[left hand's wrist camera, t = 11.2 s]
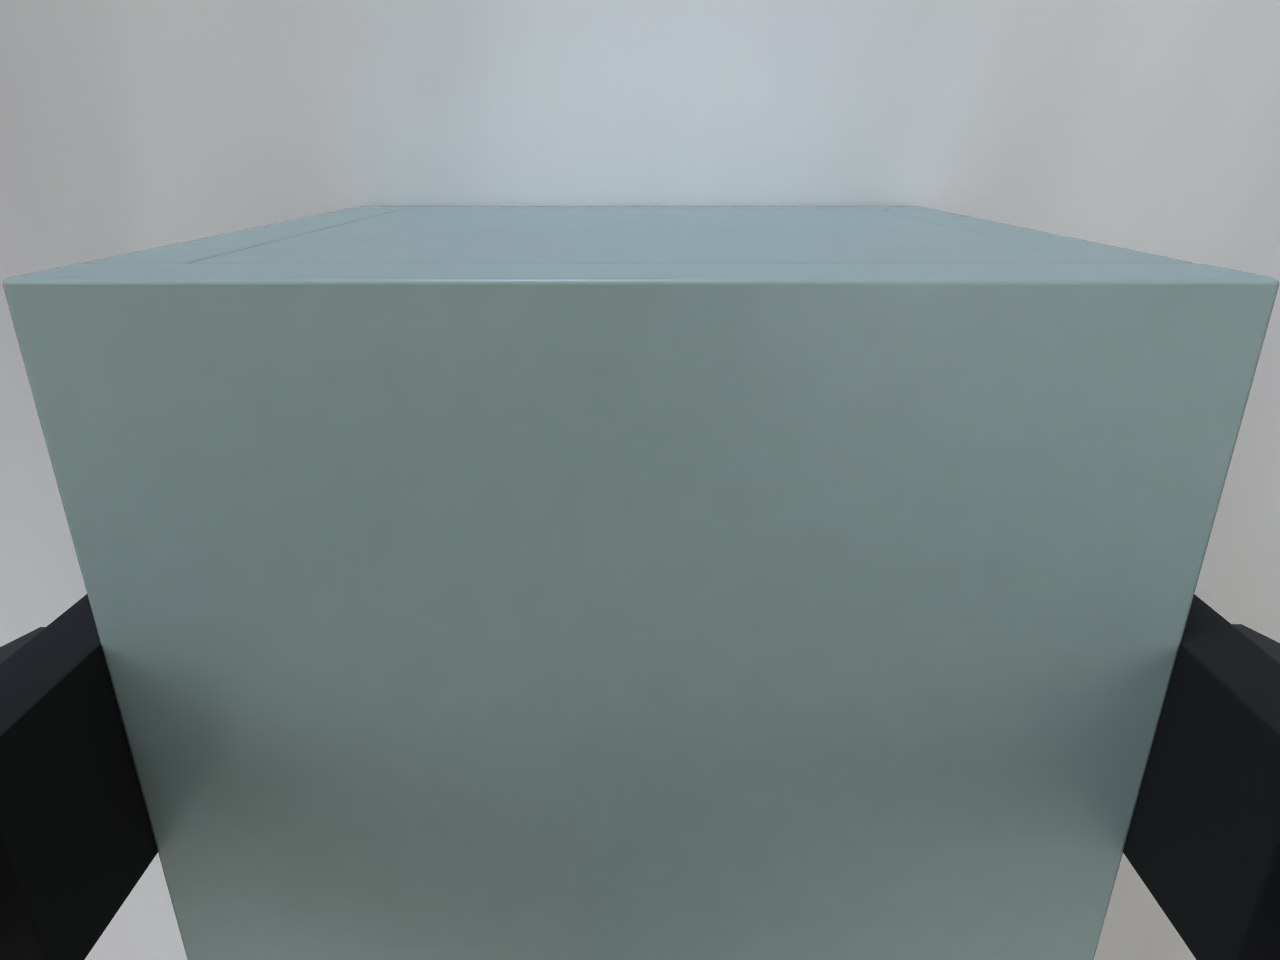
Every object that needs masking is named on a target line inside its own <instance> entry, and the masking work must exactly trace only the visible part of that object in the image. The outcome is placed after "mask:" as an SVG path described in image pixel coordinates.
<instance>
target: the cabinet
mask: <svg viewBox="0 0 1280 960" xmlns="http://www.w3.org/2000/svg"><path fill="white" fill-rule="evenodd" d="M3 287H4V291H5V295H6V298H7V302H8V306H9V309H10V313H11V317H12V320H13V324H14V328H15V331H16V335H17V339H18V342H19V346H20V349H21V353H22V357H23V360H24V364H25V368H26V371H27V375H28V379H29V382H30V386H31V390H32V393H33V397H34V401H35V404H36V408H37V411H38V415H39V419H40V422H41V426H42V430H43V433H44V437H45V441H46V444H47V448H48V452H49V455H50V459H51V463H52V466H53V470H54V474H55V477H56V481H57V484H58V488H59V492H60V495H61V499H62V503H63V506H64V510H65V514H66V517H67V521H68V525H69V528H70V532H71V536H72V539H73V543H74V547H75V550H76V554H77V557H78V561H79V565H80V568H81V572H82V576H83V579H84V583H85V587H86V590H87V594H88V598H89V601H90V605H91V609H92V612H93V616H94V620H95V623H96V627H97V630H98V634H99V638H100V641H101V645H102V649H103V652H104V656H105V660H106V663H107V667H108V671H109V674H110V678H111V682H112V685H113V689H114V693H115V696H116V700H117V703H118V707H119V711H120V714H121V718H122V722H123V725H124V729H125V733H126V736H127V740H128V744H129V747H130V751H131V755H132V758H133V762H134V765H135V769H136V773H137V776H138V780H139V784H140V787H141V791H142V795H143V798H144V802H145V806H146V809H147V813H148V817H149V820H150V824H151V828H152V831H153V835H154V838H155V842H156V846H157V849H158V853H159V857H160V860H161V864H162V868H163V871H164V875H165V879H166V882H167V886H168V890H169V893H170V897H171V901H172V904H173V908H174V911H175V915H176V919H177V922H178V926H179V930H180V933H181V937H182V941H183V944H184V948H185V952H186V955H187V959H188V960H1093V959H1094V955H1095V952H1096V948H1097V944H1098V941H1099V937H1100V934H1101V930H1102V926H1103V923H1104V919H1105V915H1106V912H1107V908H1108V905H1109V901H1110V897H1111V894H1112V890H1113V886H1114V883H1115V879H1116V875H1117V872H1118V868H1119V865H1120V861H1121V857H1122V854H1123V850H1124V846H1125V843H1126V839H1127V835H1128V832H1129V828H1130V825H1131V821H1132V817H1133V814H1134V810H1135V806H1136V803H1137V799H1138V796H1139V792H1140V788H1141V785H1142V781H1143V777H1144V774H1145V770H1146V766H1147V763H1148V759H1149V756H1150V752H1151V748H1152V745H1153V741H1154V737H1155V734H1156V730H1157V726H1158V723H1159V719H1160V716H1161V712H1162V708H1163V705H1164V701H1165V697H1166V694H1167V690H1168V686H1169V683H1170V679H1171V676H1172V672H1173V668H1174V665H1175V661H1176V657H1177V654H1178V650H1179V647H1180V643H1181V639H1182V636H1183V632H1184V628H1185V625H1186V621H1187V617H1188V614H1189V610H1190V607H1191V603H1192V599H1193V596H1194V592H1195V588H1196V585H1197V581H1198V577H1199V574H1200V570H1201V567H1202V563H1203V559H1204V556H1205V552H1206V548H1207V545H1208V541H1209V538H1210V534H1211V530H1212V527H1213V523H1214V519H1215V516H1216V512H1217V508H1218V505H1219V501H1220V498H1221V494H1222V490H1223V487H1224V483H1225V479H1226V476H1227V472H1228V468H1229V465H1230V461H1231V458H1232V454H1233V450H1234V447H1235V443H1236V439H1237V436H1238V432H1239V428H1240V425H1241V421H1242V418H1243V414H1244V410H1245V407H1246V403H1247V399H1248V396H1249V392H1250V389H1251V385H1252V381H1253V378H1254V374H1255V370H1256V367H1257V363H1258V359H1259V356H1260V352H1261V349H1262V345H1263V341H1264V338H1265V334H1266V330H1267V327H1268V323H1269V319H1270V316H1271V312H1272V309H1273V305H1274V301H1275V298H1276V294H1277V290H1278V287H1279V281H1278V280H1276V279H1274V278H1270V277H1265V276H1261V275H1256V274H1251V273H1246V272H1241V271H1236V270H1231V269H1226V268H1221V267H1216V266H1211V265H1206V264H1193V263H1191V262H1187V261H1182V260H1177V259H1173V258H1168V257H1163V256H1158V255H1153V254H1148V253H1143V252H1138V251H1133V250H1129V249H1124V248H1119V247H1114V246H1109V245H1104V244H1099V243H1094V242H1089V241H1085V240H1080V239H1075V238H1070V237H1065V236H1060V235H1055V234H1050V233H1045V232H1041V231H1036V230H1031V229H1026V228H1021V227H1016V226H1011V225H1006V224H1001V223H997V222H992V221H987V220H982V219H977V218H972V217H967V216H962V215H957V214H953V213H948V212H943V211H938V210H935V209H930V208H925V207H818V206H360V207H356V208H351V209H346V210H340V211H335V212H330V213H325V214H321V215H316V216H311V217H306V218H301V219H296V220H291V221H286V222H281V223H276V224H271V225H266V226H261V227H256V228H252V229H247V230H242V231H237V232H232V233H227V234H222V235H217V236H212V237H207V238H202V239H197V240H192V241H187V242H183V243H178V244H173V245H168V246H163V247H158V248H153V249H148V250H143V251H138V252H133V253H128V254H123V255H119V256H114V257H109V258H104V259H99V260H94V261H89V262H85V263H82V264H74V265H69V266H64V267H59V268H54V269H49V270H44V271H39V272H35V273H30V274H25V275H20V276H15V277H10V278H7V279H5V280H4V281H3Z"/></svg>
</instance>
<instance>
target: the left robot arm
mask: <svg viewBox="0 0 1280 960" xmlns="http://www.w3.org/2000/svg"><path fill="white" fill-rule="evenodd" d="M157 853H158V849H157V846H156V842H155V838H154V835H153V831H152V828H151V824H150V820H149V817H148V813H147V809H146V806H145V802H144V798H143V795H142V791H141V787H140V784H139V780H138V776H137V773H136V769H135V765H134V762H133V758H132V755H131V751H130V747H129V744H128V740H127V736H126V733H125V729H124V725H123V722H122V718H121V714H120V711H119V707H118V703H117V700H116V696H115V693H114V689H113V685H112V682H111V678H110V674H109V671H108V667H107V663H106V660H105V656H104V652H103V649H102V645H101V641H100V638H99V634H98V630H97V627H96V623H95V620H94V616H93V612H92V609H91V605H90V601H89V598H88V594H87V595H85V596H84V597H83V598H82V599H80V600H79V601H78V602H77V603H75V604H74V605H73V606H72V607H70V608H69V609H68V610H67V611H66V612H64V613H63V614H62V615H61V616H59V617H58V618H57V619H56V620H54V621H53V622H52V623H51V624H49V625H48V626H47V627H40V628H38V629H36V630H34V631H32V632H30V633H28V634H26V635H24V636H22V637H20V638H18V639H16V640H14V641H12V642H10V643H8V644H6V645H4V646H2V647H0V960H84V959H85V958H86V956H87V955H88V954H89V952H90V951H91V949H92V948H93V946H94V945H95V943H96V942H97V940H98V939H99V937H100V936H101V935H102V933H103V932H104V930H105V929H106V927H107V926H108V924H109V923H110V921H111V920H112V918H113V917H114V915H115V914H116V913H117V911H118V910H119V908H120V907H121V905H122V904H123V902H124V901H125V899H126V898H127V896H128V895H129V894H130V892H131V891H132V889H133V888H134V886H135V885H136V883H137V882H138V880H139V879H140V877H141V876H142V875H143V873H144V872H145V870H146V869H147V867H148V866H149V864H150V863H151V861H152V860H153V858H154V857H155V855H156V854H157ZM1123 853H1124V854H1125V856H1126V857H1127V858H1128V860H1129V861H1130V863H1131V864H1132V866H1133V867H1134V869H1135V870H1136V872H1137V873H1138V875H1139V876H1140V878H1141V879H1142V880H1143V882H1144V883H1145V885H1146V886H1147V888H1148V889H1149V891H1150V892H1151V894H1152V895H1153V897H1154V898H1155V899H1156V901H1157V902H1158V904H1159V905H1160V907H1161V908H1162V910H1163V911H1164V913H1165V914H1166V916H1167V917H1168V918H1169V920H1170V921H1171V923H1172V924H1173V926H1174V927H1175V929H1176V930H1177V932H1178V933H1179V935H1180V936H1181V937H1182V939H1183V940H1184V942H1185V943H1186V945H1187V946H1188V948H1189V949H1190V951H1191V952H1192V954H1193V955H1194V957H1195V958H1196V959H1197V960H1280V643H1278V642H1276V641H1274V640H1272V639H1270V638H1268V637H1266V636H1264V635H1262V634H1260V633H1258V632H1256V631H1254V630H1252V629H1250V628H1248V627H1246V626H1244V625H1242V624H1230V623H1229V622H1228V621H1227V620H1225V619H1224V618H1223V617H1222V616H1220V615H1219V614H1218V613H1217V612H1215V611H1214V610H1213V609H1212V608H1211V607H1209V606H1208V605H1207V604H1206V603H1204V602H1203V601H1202V600H1201V599H1199V598H1198V597H1197V596H1196V595H1194V596H1193V599H1192V603H1191V607H1190V610H1189V614H1188V617H1187V621H1186V625H1185V628H1184V632H1183V636H1182V639H1181V643H1180V647H1179V650H1178V654H1177V657H1176V661H1175V665H1174V668H1173V672H1172V676H1171V679H1170V683H1169V686H1168V690H1167V694H1166V697H1165V701H1164V705H1163V708H1162V712H1161V716H1160V719H1159V723H1158V726H1157V730H1156V734H1155V737H1154V741H1153V745H1152V748H1151V752H1150V756H1149V759H1148V763H1147V766H1146V770H1145V774H1144V777H1143V781H1142V785H1141V788H1140V792H1139V796H1138V799H1137V803H1136V806H1135V810H1134V814H1133V817H1132V821H1131V825H1130V828H1129V832H1128V835H1127V839H1126V843H1125V846H1124V850H1123Z"/></svg>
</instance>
